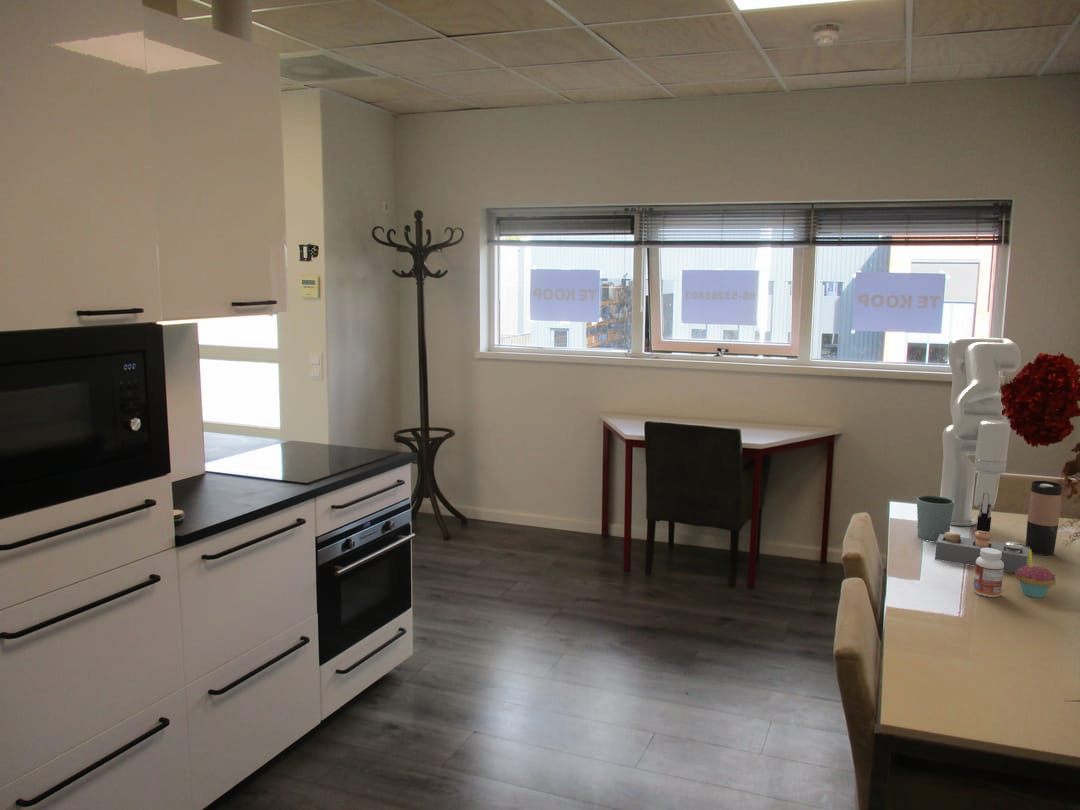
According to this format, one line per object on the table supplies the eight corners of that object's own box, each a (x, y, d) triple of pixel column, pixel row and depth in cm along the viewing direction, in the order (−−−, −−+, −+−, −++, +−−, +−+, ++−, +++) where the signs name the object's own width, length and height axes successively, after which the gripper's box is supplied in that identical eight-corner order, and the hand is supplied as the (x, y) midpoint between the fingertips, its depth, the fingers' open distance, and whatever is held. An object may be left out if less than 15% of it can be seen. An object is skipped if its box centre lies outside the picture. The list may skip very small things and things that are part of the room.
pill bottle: (972, 587, 213) (977, 545, 211) (1000, 591, 210) (1004, 548, 208) (972, 595, 207) (977, 552, 206) (1001, 599, 204) (1005, 556, 203)
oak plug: (943, 551, 238) (945, 531, 237) (959, 554, 236) (961, 533, 235) (941, 555, 235) (943, 534, 234) (957, 558, 233) (959, 537, 232)
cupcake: (1014, 596, 207) (1019, 549, 205) (1013, 585, 214) (1018, 540, 212) (1054, 603, 203) (1060, 555, 201) (1052, 591, 210) (1057, 545, 209)
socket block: (938, 550, 241) (939, 533, 240) (1026, 564, 230) (1028, 547, 229) (934, 559, 233) (936, 541, 233) (1025, 574, 222) (1027, 556, 222)
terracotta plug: (973, 550, 234) (975, 529, 233) (989, 553, 232) (991, 532, 231) (972, 554, 231) (974, 533, 230) (988, 557, 229) (991, 536, 228)
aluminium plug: (1003, 561, 231) (1005, 540, 230) (1020, 564, 229) (1022, 543, 228) (1002, 565, 227) (1005, 544, 226) (1019, 568, 225) (1022, 547, 224)
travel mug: (1046, 547, 245) (1054, 481, 242) (1060, 556, 238) (1068, 487, 235) (1019, 546, 246) (1026, 480, 243) (1031, 554, 239) (1039, 486, 236)
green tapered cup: (956, 543, 248) (960, 504, 246) (922, 542, 248) (925, 503, 246) (941, 533, 258) (944, 495, 256) (908, 532, 258) (911, 494, 256)
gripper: (976, 458, 236) (970, 521, 239) (972, 469, 224) (965, 535, 227) (1006, 462, 232) (1000, 525, 236) (1004, 473, 220) (997, 540, 223)
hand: (983, 530), depth 231 cm, fingers closed
